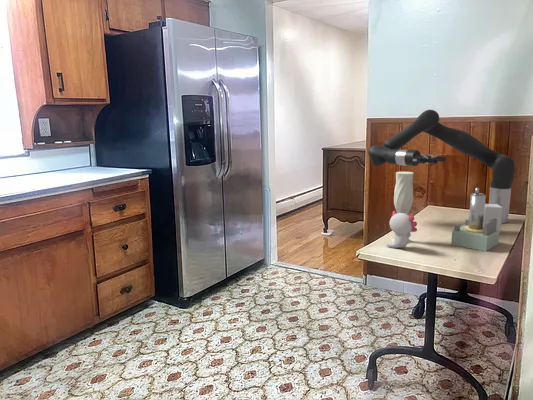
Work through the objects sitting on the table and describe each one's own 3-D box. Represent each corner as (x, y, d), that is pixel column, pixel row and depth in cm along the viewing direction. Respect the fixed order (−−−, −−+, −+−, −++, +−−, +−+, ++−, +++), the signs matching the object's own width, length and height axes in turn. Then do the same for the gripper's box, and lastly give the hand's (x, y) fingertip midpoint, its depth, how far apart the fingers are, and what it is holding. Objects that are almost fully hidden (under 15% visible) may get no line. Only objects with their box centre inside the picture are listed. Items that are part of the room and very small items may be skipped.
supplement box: (500, 234, 200) (503, 207, 197) (482, 234, 201) (485, 206, 198) (495, 230, 207) (498, 203, 204) (478, 229, 208) (480, 203, 206)
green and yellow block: (464, 237, 196) (466, 213, 194) (498, 243, 187) (500, 218, 184) (451, 244, 187) (452, 219, 184) (485, 251, 177) (488, 224, 175)
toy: (420, 251, 179) (422, 215, 176) (406, 254, 175) (407, 217, 172) (395, 242, 190) (396, 208, 187) (381, 245, 187) (382, 211, 184)
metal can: (471, 225, 189) (474, 185, 186) (485, 227, 185) (488, 187, 182) (466, 228, 185) (469, 187, 182) (479, 230, 181) (483, 189, 178)
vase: (388, 238, 197) (391, 171, 191) (406, 237, 198) (409, 171, 192) (395, 244, 188) (398, 174, 182) (414, 243, 189) (418, 173, 183)
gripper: (400, 150, 201) (435, 152, 189) (415, 148, 211) (449, 150, 199) (399, 167, 202) (434, 170, 191) (414, 164, 212) (448, 166, 201)
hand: (441, 160), depth 195 cm, fingers open, 8 cm apart
